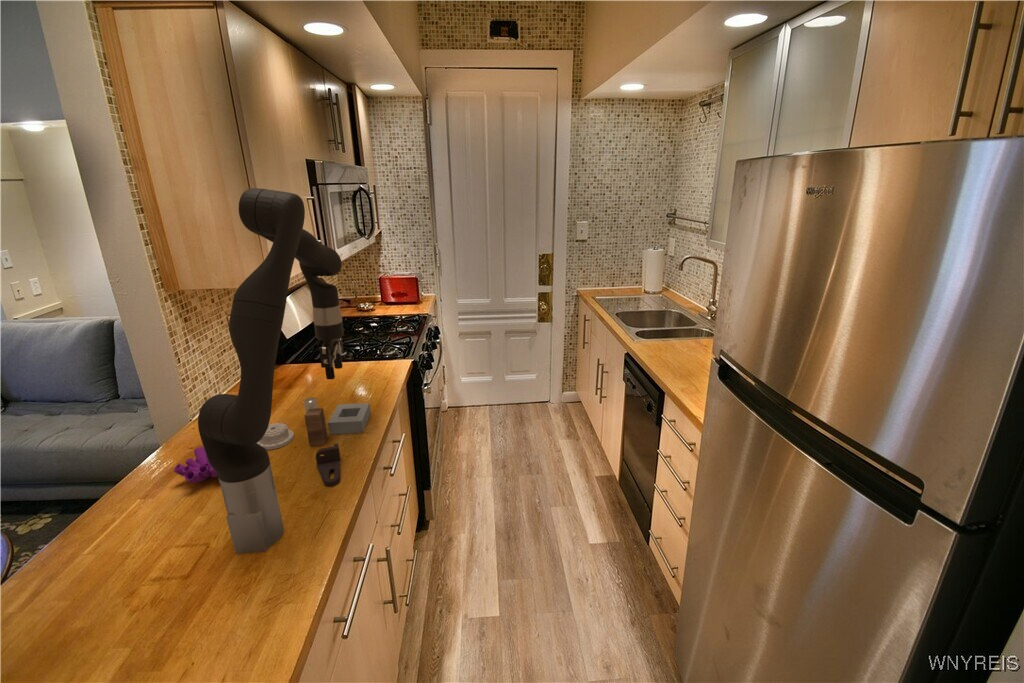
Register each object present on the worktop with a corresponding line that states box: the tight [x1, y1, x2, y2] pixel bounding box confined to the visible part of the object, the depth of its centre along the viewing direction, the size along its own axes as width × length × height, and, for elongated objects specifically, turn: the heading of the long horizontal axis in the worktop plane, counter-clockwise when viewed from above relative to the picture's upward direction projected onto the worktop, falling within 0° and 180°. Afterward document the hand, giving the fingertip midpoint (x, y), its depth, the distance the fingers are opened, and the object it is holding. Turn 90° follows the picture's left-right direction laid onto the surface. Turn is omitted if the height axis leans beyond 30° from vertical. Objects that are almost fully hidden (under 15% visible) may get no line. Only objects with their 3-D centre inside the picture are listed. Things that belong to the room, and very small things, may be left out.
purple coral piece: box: [173, 446, 218, 484], centre depth 115 cm, size 11×15×10 cm
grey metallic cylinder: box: [303, 397, 319, 413], centre depth 141 cm, size 4×4×8 cm
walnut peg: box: [304, 407, 328, 447], centre depth 130 cm, size 4×4×10 cm
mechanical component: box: [257, 422, 295, 451], centre depth 132 cm, size 10×4×10 cm
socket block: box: [327, 402, 372, 435], centre depth 141 cm, size 12×10×4 cm
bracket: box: [315, 443, 341, 488], centre depth 117 cm, size 6×12×5 cm, turn 19°
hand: (334, 373), depth 133 cm, fingers open, 8 cm apart
